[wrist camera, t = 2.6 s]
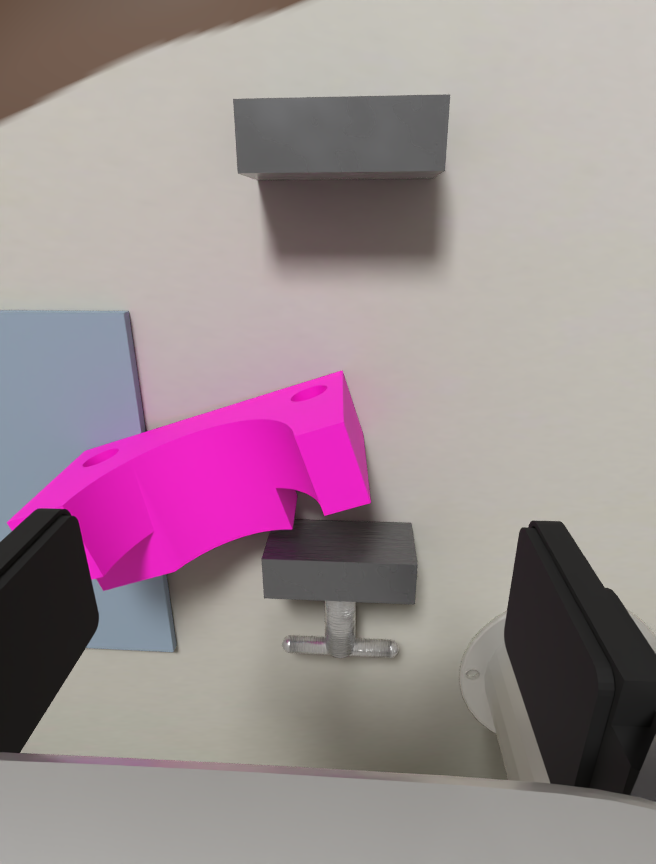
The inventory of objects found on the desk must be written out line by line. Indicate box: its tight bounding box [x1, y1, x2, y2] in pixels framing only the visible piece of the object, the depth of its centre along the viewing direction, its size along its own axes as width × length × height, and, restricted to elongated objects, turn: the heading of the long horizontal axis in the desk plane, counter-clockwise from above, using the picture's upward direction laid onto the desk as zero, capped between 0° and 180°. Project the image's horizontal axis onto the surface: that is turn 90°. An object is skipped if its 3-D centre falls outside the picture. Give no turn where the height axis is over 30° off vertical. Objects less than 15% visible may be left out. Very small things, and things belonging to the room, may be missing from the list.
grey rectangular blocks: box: [233, 95, 450, 658], centre depth 27 cm, size 8×28×4 cm, turn 0°
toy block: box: [7, 371, 371, 591], centre depth 26 cm, size 15×6×8 cm, turn 108°
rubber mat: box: [0, 310, 177, 652], centre depth 31 cm, size 14×22×1 cm, turn 0°
